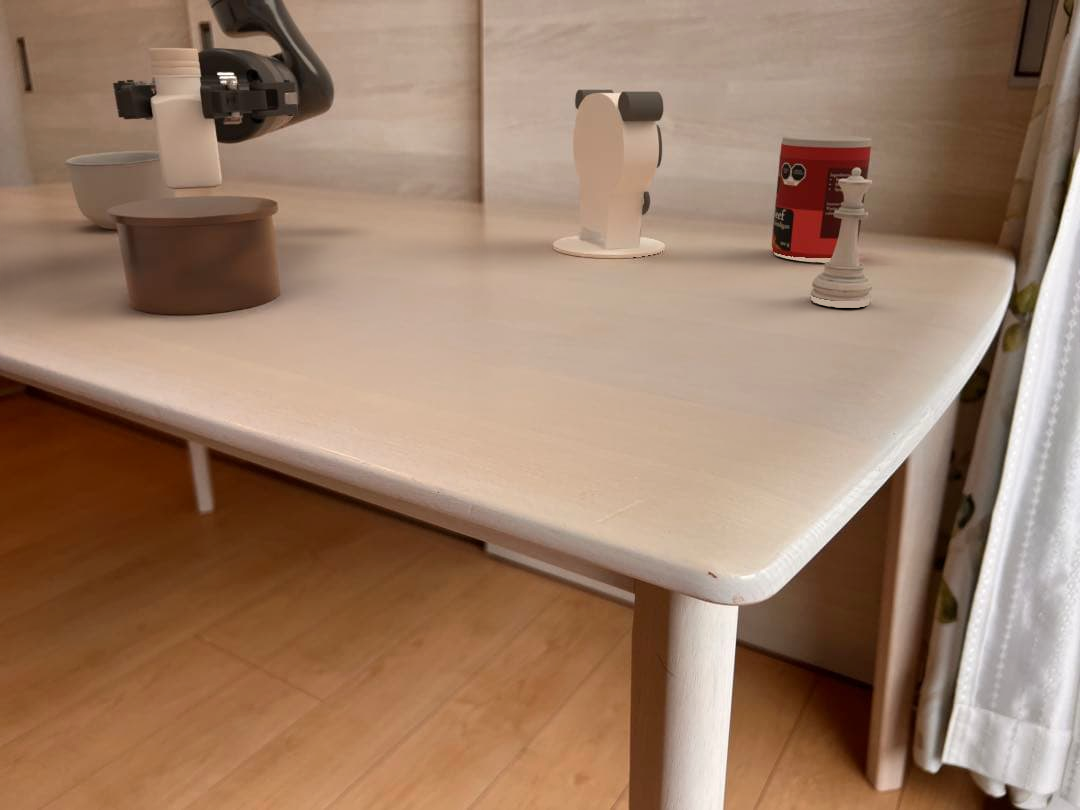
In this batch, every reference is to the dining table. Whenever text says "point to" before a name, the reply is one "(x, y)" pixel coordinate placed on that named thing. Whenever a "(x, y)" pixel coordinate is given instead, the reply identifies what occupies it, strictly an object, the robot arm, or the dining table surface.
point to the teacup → (115, 182)
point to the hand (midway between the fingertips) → (167, 102)
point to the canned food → (814, 191)
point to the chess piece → (846, 248)
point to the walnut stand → (198, 253)
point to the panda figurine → (614, 172)
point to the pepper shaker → (182, 121)
